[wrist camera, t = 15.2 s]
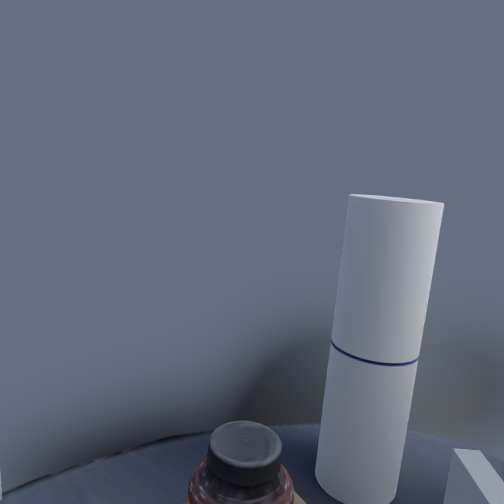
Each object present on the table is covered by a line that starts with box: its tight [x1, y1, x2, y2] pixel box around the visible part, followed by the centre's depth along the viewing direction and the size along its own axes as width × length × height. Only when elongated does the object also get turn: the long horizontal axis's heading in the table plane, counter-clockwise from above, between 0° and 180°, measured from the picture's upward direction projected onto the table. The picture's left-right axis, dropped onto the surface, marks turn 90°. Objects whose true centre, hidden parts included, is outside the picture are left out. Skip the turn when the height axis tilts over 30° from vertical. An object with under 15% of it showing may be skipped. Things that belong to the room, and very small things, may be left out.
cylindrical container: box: [315, 194, 444, 504], centre depth 37 cm, size 7×7×25 cm
